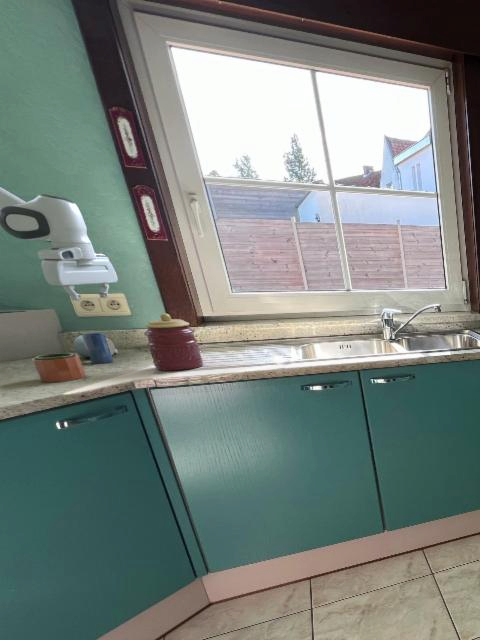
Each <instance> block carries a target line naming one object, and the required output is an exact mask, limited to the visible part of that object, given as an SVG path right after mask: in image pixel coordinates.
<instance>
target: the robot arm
mask: <svg viewBox="0 0 480 640" xmlns="http://www.w3.org/2000/svg"><path fill="white" fill-rule="evenodd" d="M0 226H1V228H2V229H3V230H4V231H5V232H6V233H7V234H9V235H10V236H12V237H15V238H16V239H20V240H24V241H32V242H33V241H34V242H47V243H51V244H52V246H49V247H46V248H44V249H42V250H41V249H40V250H38V251H37V256H38V258H39V259H41V260H42V261H41V263H40V265H41V270H42V272H43V276H44V278H45V281H46V282H47V283H48V284H49V285H51V286H57V287H59V286H60V287H61V286H62V288H63V290H64V291H65V292H66V293H67V294H68V295H69V296H70V299H71V300H72V301H81V300H82V296H81V294H80V293H77V292H76V291H75V286H77V285H95V284H96V285H98V287H100V290H99V291H97V292H98V295H99V296H98V297H99V298H101V299H108V298H109V297H110V295H109V290H110V285H109V284H111V283H112V284H113V283H118V279H119V278H118V275H117V272H116V270H115V268H114V265H113V264H112V263H111V261H110V259H109V257H108V256H106V255H105V254H104V253H102V252H97V253H96V252H95V250H94V247H93V244H92V241H91V239H90V238H89V236H88V227H87V225H86V222H85V220H84V217H83V214H82V212H81V211H80V208H79V206H78V205H77V204H76V202H74V201H73V200H71V199H69V198H67V197H66V198H65V197H61V196H57V195H51V194H38V195H37V196H35V197H34V198H33V199H31V200H28V201H27V200H25V199H23V198H22V197H20V196H18V195H17V194H14V193H13V192H11V191H10V190H8V189H6V188H4V187H2V186H1V185H0Z"/></svg>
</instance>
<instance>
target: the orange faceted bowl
mask: <svg viewBox="0 0 480 640" xmlns="http://www.w3.org/2000/svg"><path fill="white" fill-rule="evenodd" d="M31 360H32V362H33V363H32V364H33V365H34V368H35V370H36V372H37V375H38V378H39V381H41V382H42V383H61V382H62V383H63V382H71V381H77V380H81V379H84V378H85V377H87V374H86V372H85V369H84V366H83V363H82V361H81V359H80V355H78V353H72V352H57V353H56V352H55V353H47V354H41V355H36V356H35V357H33V358H31Z"/></svg>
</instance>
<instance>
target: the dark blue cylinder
mask: <svg viewBox="0 0 480 640" xmlns="http://www.w3.org/2000/svg"><path fill="white" fill-rule="evenodd" d="M81 336H82V337H83V340H84V343H85V346H86V348H87V351H88V354H89V357H90V358H89V359H90V362H91V364H94V365H101V364H109V363H113V362H114V358H113V355H111V352H110V349H109V346H108V343H107V340H106V338H107V337H106V334H105V333H103V332H102V333H101V332H96V333H95V332H94V333H85V334H82V335H81Z"/></svg>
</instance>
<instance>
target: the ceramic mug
mask: <svg viewBox="0 0 480 640" xmlns="http://www.w3.org/2000/svg"><path fill="white" fill-rule="evenodd" d="M106 340H107V343H108V346H109V349H110V352H111V355H112V356H113V355H118V353H119V350H118V349H117V348H116V346H115V344H114V342H113V341H112V340H111V339H109V338H107V337H106ZM73 348H74V351H75V352H76V354H77V355H78V356H79V357H82V358H85V359H86V358H89V359H90V357H89V354H88V351H87V348H86V346H85V343H84V340H83V337H82V335H78V336H76V338H75V339H74V341H73Z"/></svg>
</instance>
